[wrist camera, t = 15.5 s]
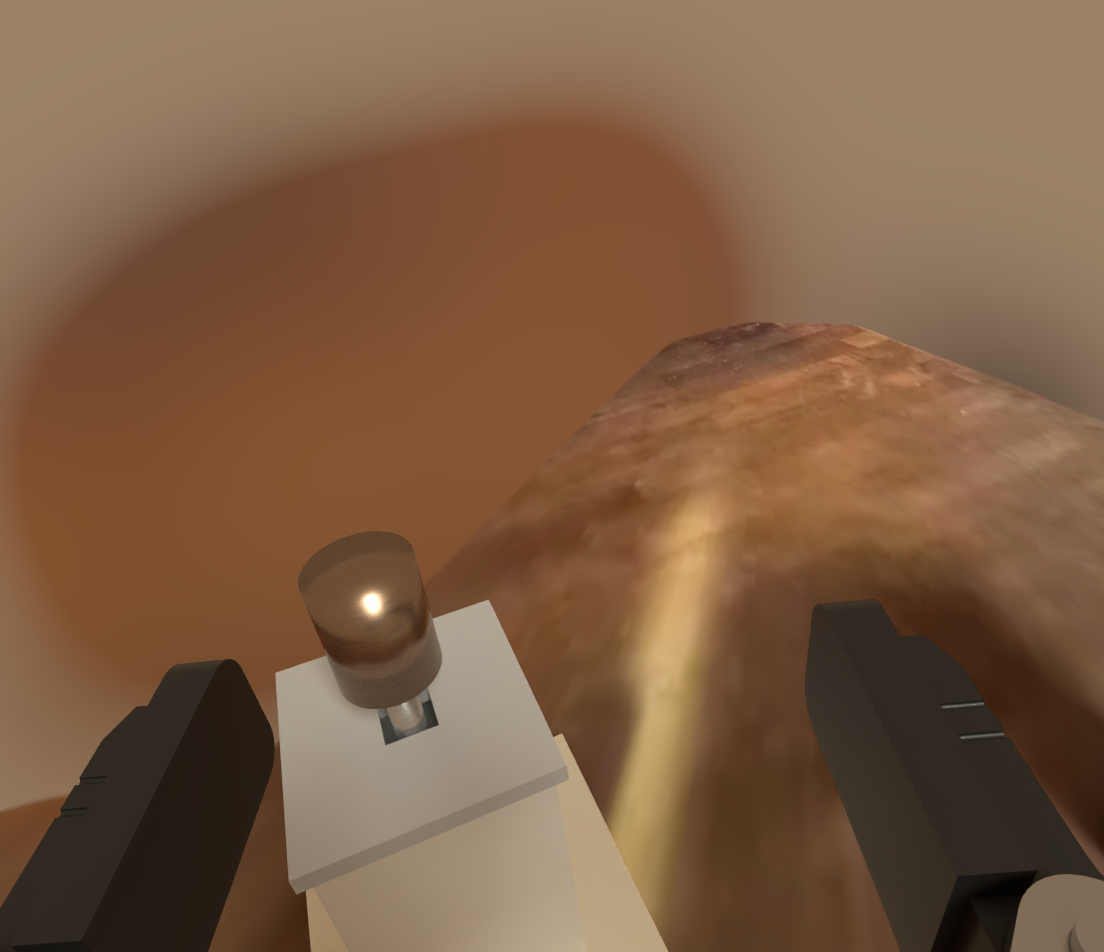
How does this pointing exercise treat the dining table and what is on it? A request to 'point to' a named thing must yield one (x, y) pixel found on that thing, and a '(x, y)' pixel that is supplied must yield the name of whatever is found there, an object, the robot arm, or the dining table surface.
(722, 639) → the dining table surface
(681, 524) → the dining table surface
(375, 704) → the plunger
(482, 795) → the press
